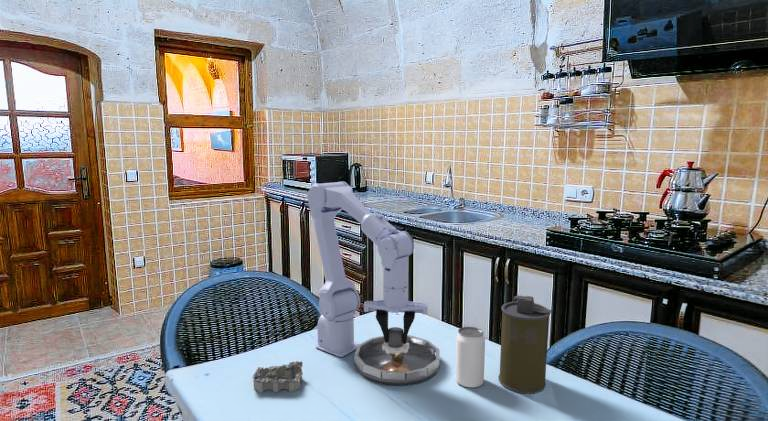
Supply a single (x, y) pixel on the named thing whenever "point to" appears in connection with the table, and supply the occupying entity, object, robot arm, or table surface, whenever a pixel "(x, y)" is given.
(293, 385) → the egg carton
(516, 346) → the canister
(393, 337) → the gear
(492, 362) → the table surface
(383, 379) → the bowl
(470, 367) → the can
